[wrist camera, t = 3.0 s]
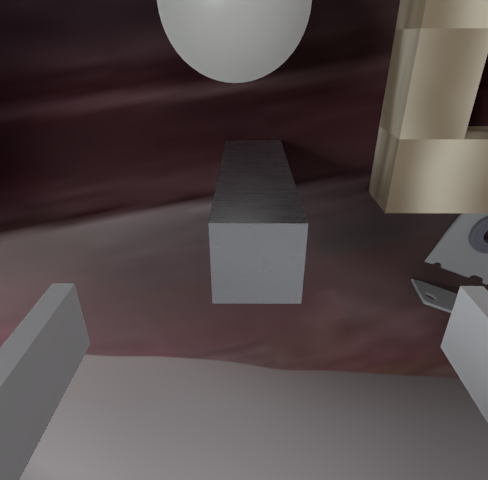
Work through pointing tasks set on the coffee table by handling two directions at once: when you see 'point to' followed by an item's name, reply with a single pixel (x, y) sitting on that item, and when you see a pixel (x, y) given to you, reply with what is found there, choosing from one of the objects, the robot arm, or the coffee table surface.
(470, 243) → the bracket
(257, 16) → the plastic dowel
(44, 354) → the robot arm
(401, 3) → the socket block
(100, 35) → the coffee table surface
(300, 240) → the grey long block
